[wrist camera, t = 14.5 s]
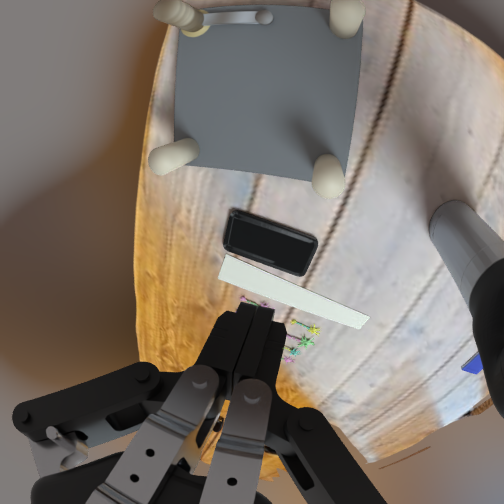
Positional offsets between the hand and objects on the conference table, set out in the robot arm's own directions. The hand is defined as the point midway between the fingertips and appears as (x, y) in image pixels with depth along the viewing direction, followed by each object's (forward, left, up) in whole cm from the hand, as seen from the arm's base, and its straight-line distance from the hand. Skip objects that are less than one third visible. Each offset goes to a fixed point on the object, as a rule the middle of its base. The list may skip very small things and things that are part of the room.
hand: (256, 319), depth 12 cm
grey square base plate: (+7, -11, -31) cm, 34 cm away
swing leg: (+12, -21, -28) cm, 37 cm away
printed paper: (+1, +36, -32) cm, 48 cm away
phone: (+4, +14, -32) cm, 35 cm away
